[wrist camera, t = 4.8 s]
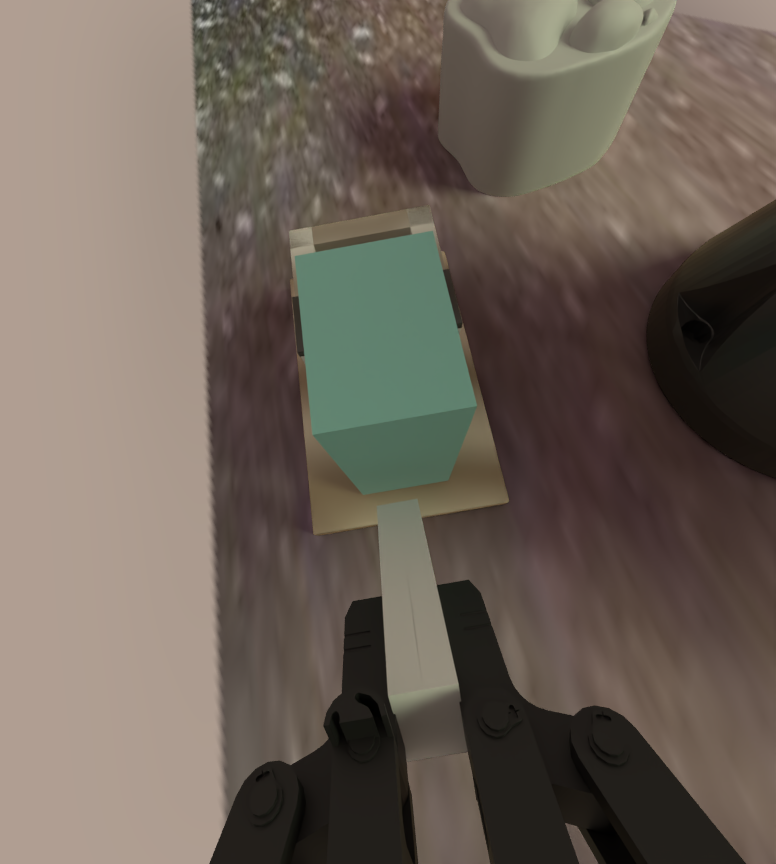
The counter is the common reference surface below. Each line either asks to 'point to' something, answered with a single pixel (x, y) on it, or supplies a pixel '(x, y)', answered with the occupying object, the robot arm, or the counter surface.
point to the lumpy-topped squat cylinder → (540, 84)
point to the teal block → (384, 362)
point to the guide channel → (328, 485)
